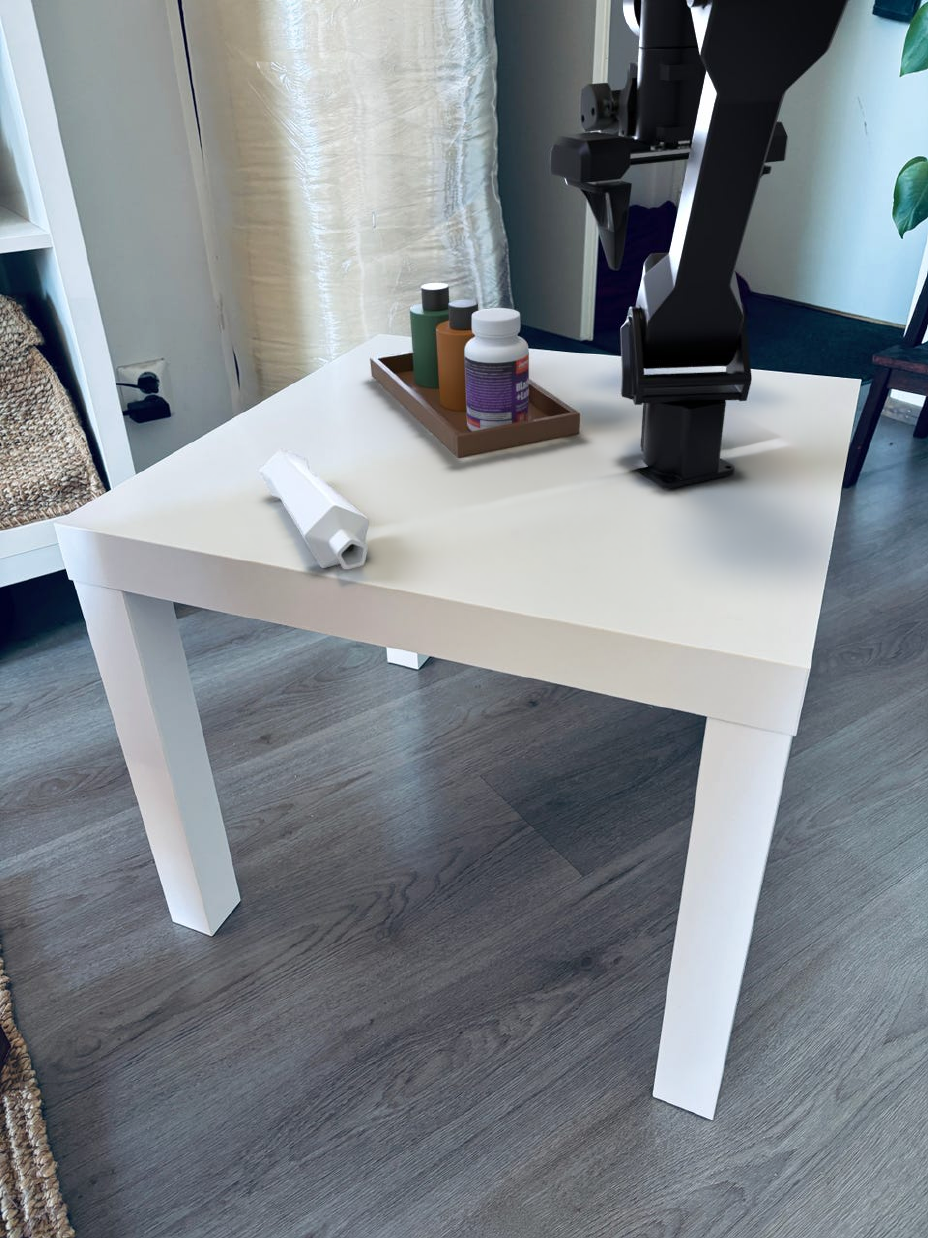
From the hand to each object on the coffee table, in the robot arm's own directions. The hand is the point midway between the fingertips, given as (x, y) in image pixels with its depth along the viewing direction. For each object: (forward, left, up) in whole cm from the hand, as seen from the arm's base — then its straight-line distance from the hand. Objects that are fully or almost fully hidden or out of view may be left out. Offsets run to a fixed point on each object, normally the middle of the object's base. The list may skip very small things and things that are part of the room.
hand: (662, 262), depth 81 cm
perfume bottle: (-2, +34, -11) cm, 36 cm away
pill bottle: (+1, +15, -12) cm, 19 cm away
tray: (+8, +15, -13) cm, 21 cm away
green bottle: (+15, +15, -12) cm, 24 cm away
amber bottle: (+8, +15, -12) cm, 21 cm away
